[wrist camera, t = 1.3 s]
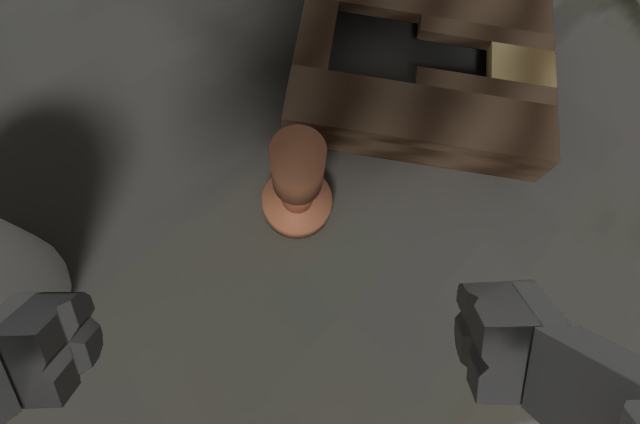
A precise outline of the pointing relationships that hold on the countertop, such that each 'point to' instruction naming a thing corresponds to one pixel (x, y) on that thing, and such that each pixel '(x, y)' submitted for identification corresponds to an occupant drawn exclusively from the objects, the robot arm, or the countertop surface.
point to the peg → (297, 182)
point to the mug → (29, 264)
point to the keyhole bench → (437, 88)
